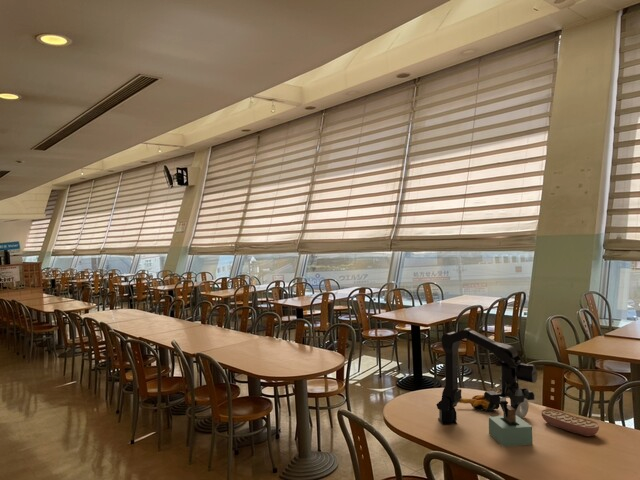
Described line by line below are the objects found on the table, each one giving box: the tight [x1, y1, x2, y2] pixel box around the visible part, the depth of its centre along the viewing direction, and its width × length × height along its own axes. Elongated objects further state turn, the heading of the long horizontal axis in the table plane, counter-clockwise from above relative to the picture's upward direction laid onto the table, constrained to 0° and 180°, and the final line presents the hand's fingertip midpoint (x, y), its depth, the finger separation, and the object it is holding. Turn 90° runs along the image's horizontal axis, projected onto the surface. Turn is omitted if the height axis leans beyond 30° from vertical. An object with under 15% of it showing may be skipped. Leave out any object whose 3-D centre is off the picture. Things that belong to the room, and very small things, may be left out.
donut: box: [516, 399, 530, 420], centre depth 208 cm, size 10×4×10 cm, turn 124°
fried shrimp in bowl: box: [458, 394, 501, 412], centre depth 220 cm, size 9×11×18 cm
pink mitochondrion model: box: [540, 408, 600, 437], centre depth 195 cm, size 23×10×5 cm, turn 34°
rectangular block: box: [502, 404, 516, 422], centre depth 188 cm, size 2×5×5 cm, turn 6°
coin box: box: [488, 415, 534, 448], centre depth 188 cm, size 12×12×7 cm
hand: (509, 416), depth 188 cm, fingers closed on rectangular block, 2 cm apart
